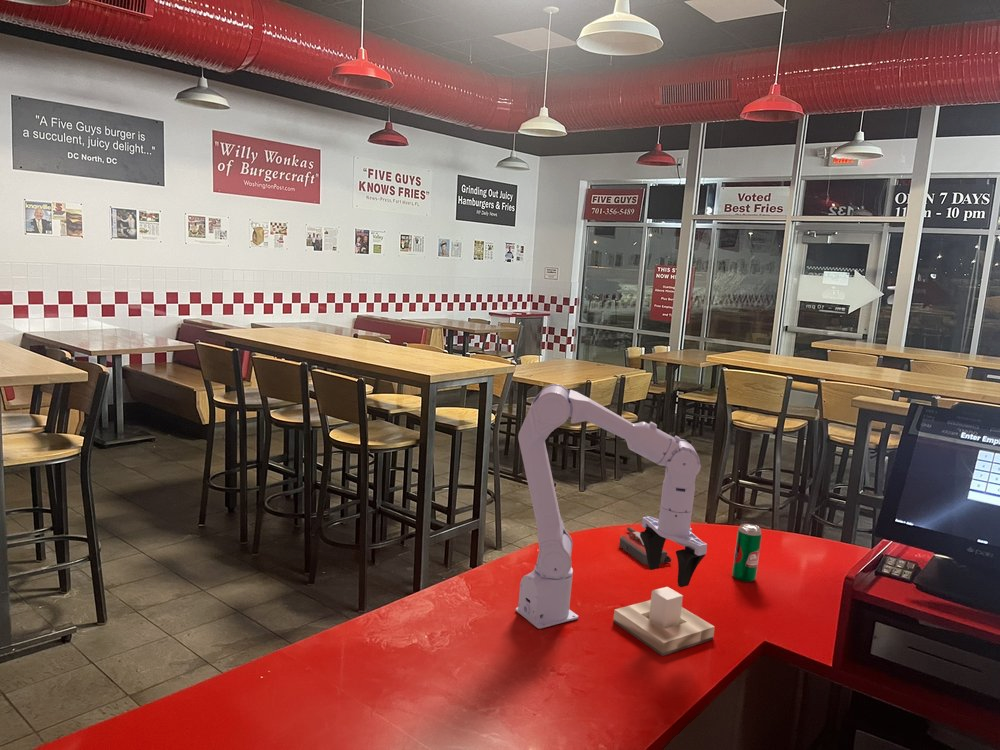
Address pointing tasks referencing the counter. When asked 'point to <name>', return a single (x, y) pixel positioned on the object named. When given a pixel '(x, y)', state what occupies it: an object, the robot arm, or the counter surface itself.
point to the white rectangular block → (665, 607)
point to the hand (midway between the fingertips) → (668, 576)
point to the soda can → (747, 552)
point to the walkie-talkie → (638, 547)
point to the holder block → (661, 639)
